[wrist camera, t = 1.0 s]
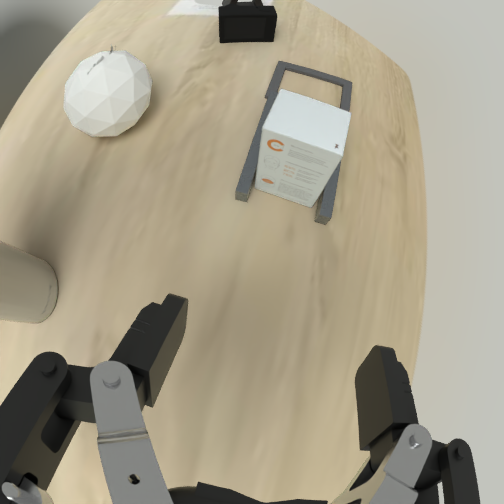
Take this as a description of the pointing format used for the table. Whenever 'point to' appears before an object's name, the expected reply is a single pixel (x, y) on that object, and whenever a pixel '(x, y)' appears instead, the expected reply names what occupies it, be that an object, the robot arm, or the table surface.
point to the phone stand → (243, 3)
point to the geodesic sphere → (107, 93)
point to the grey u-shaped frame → (251, 167)
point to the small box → (300, 147)
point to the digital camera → (247, 23)
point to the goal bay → (313, 73)
